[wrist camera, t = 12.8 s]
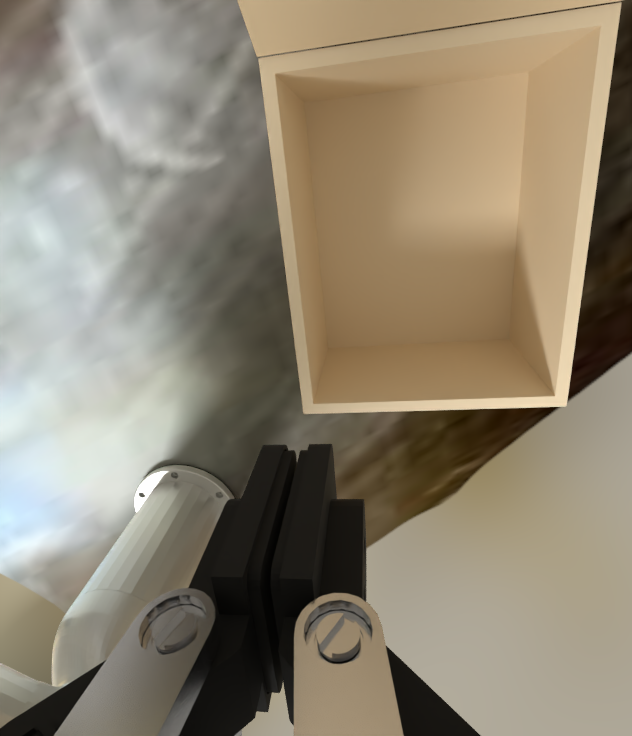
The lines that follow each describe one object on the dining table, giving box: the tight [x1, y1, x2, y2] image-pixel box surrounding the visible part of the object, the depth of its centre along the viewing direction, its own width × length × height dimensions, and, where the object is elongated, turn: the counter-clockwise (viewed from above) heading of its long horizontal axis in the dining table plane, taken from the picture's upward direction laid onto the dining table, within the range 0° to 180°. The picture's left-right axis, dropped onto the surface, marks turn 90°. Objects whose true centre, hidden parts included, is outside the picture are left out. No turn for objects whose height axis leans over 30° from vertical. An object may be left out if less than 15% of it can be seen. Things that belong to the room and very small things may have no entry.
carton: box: [258, 2, 622, 414], centre depth 32 cm, size 22×18×12 cm
